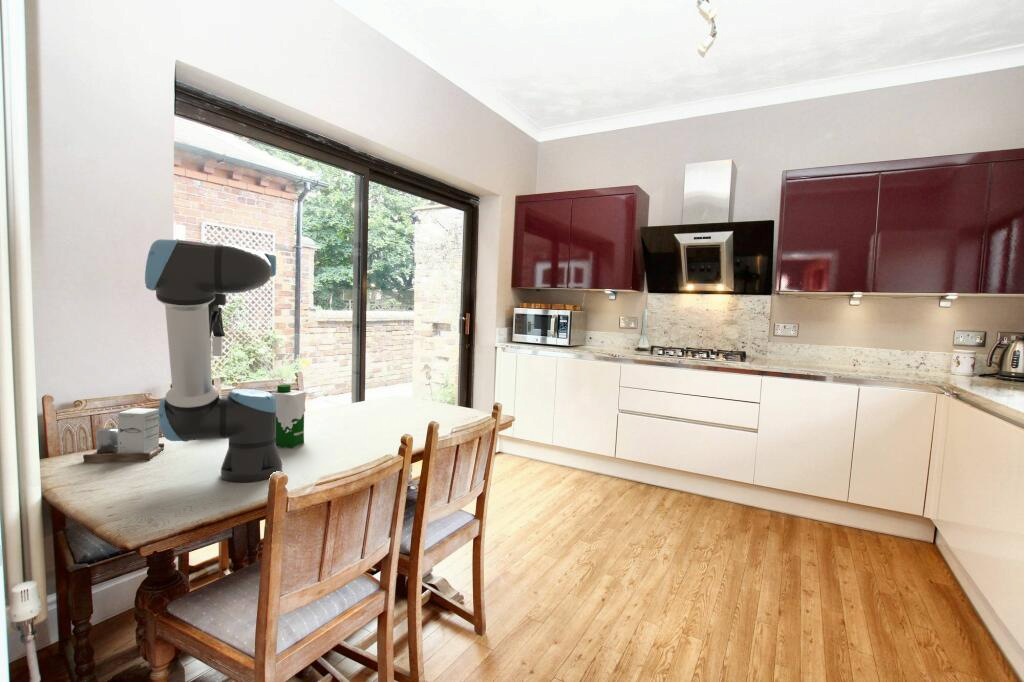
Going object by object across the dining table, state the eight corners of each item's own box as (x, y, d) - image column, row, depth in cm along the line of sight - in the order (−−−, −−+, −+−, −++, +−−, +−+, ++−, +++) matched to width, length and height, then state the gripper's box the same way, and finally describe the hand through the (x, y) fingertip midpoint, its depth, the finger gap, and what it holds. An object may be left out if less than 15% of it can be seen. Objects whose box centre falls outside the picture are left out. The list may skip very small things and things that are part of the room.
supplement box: (116, 455, 141) (116, 412, 140) (134, 447, 148) (134, 407, 147) (143, 455, 141) (143, 413, 141) (160, 448, 149) (160, 408, 148)
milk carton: (284, 440, 169) (285, 383, 168) (308, 442, 167) (309, 385, 166) (268, 446, 160) (269, 387, 159) (293, 449, 159) (294, 389, 158)
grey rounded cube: (113, 455, 141) (113, 431, 141) (92, 455, 140) (92, 431, 139) (122, 450, 146) (121, 427, 146) (102, 450, 145) (102, 427, 144)
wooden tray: (164, 450, 152) (164, 443, 151) (149, 460, 141) (149, 453, 141) (103, 451, 147) (103, 444, 147) (83, 462, 137) (83, 455, 137)
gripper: (215, 292, 145) (215, 362, 146) (234, 294, 169) (233, 354, 170) (186, 290, 143) (186, 362, 144) (209, 292, 166) (208, 354, 168)
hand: (211, 358), depth 157 cm, fingers open, 13 cm apart
